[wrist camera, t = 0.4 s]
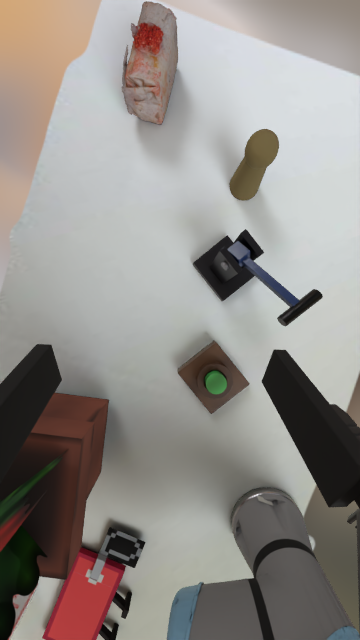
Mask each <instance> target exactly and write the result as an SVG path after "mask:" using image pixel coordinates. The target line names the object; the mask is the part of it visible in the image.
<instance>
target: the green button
mask: <svg viewBox="0 0 360 640" xmlns="http://www.w3.org/2000/svg"><path fill="white" fill-rule="evenodd" d="M205 385H206V388H207V390H208V391H209V392H210V393H212V394H220V393H222V392H223V391H224V390H225V389H226V387H227V381H226V378H225V377H224V375H223V374H222V373H221V372H219V371H211V372H209V373H208V374H207V375H206V377H205Z"/></svg>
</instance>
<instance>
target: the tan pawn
mask: <svg viewBox="0 0 360 640" xmlns="http://www.w3.org/2000/svg"><path fill="white" fill-rule="evenodd" d="M278 149H279V141H278V138H277V136H276V134H275V133H274V132H273V131H271V130H268V129H262V130H259V131H257V132H255V133H254V134H253V135H252V136H251V137H250V139H249V140H248V142H247V144H246V148H245V157H244V158H243V160H242V162H241V163H240V165H239V167H238V168H237V170H236V172H235V173H234V175H233V177H232V179H231V181H230V191H231V193H232V195H233V196H234V197H235V198H237V199H239V200H249V199H251V198H252V197H254V196H255V194H256V193H257V191H258V188H259V186H260V183H261V181H262V178H263V175H264V173H265V170H266V168H267V166H269V165H270V164H271V163H272V162H273V160H274V159H275V157H276V156H277V153H278Z"/></svg>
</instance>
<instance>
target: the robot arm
mask: <svg viewBox="0 0 360 640" xmlns="http://www.w3.org/2000/svg"><path fill="white" fill-rule="evenodd" d="M61 380H62V379H61V376H60V372H59V369H58V366H57V362H56V359H55V356H54V352H53V349H52V346H51V345H44V344H37V345H36V346H35V347H34V348H33V349H32V350H31V351H30V352H29V353H28V354H27V355H26V357H25V358H24V359H23V360H22V361H21V362H20V363H19V364H18V365H17V366H16V367H15V369H14V370H13V371H12V372H11V373H10V374H9V375H8V376H7V377H6V378H5V379H4V380H3V382H2V383H1V384H0V483H1V481H2V480H3V478H4V476H5V475H6V473H7V471H8V470H9V468H10V466H11V465H12V463H13V461H14V460H15V458H16V456H17V455H18V453H19V451H20V449H21V448H22V446H23V444H24V443H25V441H26V439H27V438H28V436H29V434H30V433H31V431H32V429H33V428H34V426H35V424H36V422H37V421H38V419H39V417H40V416H41V414H42V412H43V411H44V409H45V407H46V406H47V404H48V402H49V401H50V399H51V397H52V396H53V394H54V392H55V390H56V389H57V387H58V385H59V384H60V382H61ZM262 383H263V385H264V387H265V389H266V391H267V392H268V394H269V396H270V398H271V400H272V402H273V404H274V406H275V407H276V409H277V411H278V413H279V415H280V417H281V419H282V420H283V422H284V424H285V426H286V428H287V430H288V432H289V434H290V435H291V437H292V439H293V441H294V443H295V445H296V447H297V449H298V450H299V452H300V454H301V456H302V458H303V460H304V462H305V464H306V465H307V467H308V469H309V471H310V473H311V475H312V477H313V479H314V480H315V482H316V484H317V486H318V488H319V490H320V492H321V493H322V495H323V497H324V499H325V501H326V503H327V505H328V507H347V506H348V505H349V504H350V503H351V502H352V501H354V500H355V502H356V504H357V505H358V507H359V509H358V510H357V511H355V512H354V513H353V514H351V515H350V516H349V517H348V520H347V522H348V523H350V524H351V523H352V522H354V521H355V520H357V526H356V528H357V549H358V589H359V629H360V428H359V427H357V424H356V423H355V422H354V421H353V420H352V419H351V417H350V416H349V415H348V414H347V413H346V412H345V411H343V410H342V409H341V408H339V407H338V406H337V405H336V404H329V403H328V402H327V400H326V399H325V398H324V397H323V395H322V394H321V393H320V392H319V390H318V389H317V388H316V387H315V386H314V384H313V383H312V382H311V381H310V379H309V378H308V377H307V376H306V374H305V373H304V372H303V371H302V370H301V368H300V367H299V366H298V365H297V363H296V362H295V361H294V360H293V358H292V357H291V356H290V355H289V354H288V352H287V351H286V350H274V351H273V353H272V356H271V359H270V361H269V364H268V366H267V369H266V372H265V374H264V377H263V379H262ZM231 524H232V530H233V534H234V538H235V541H236V543H237V545H238V547H239V549H240V551H241V553H242V555H243V556H244V558H245V560H246V562H247V564H248V565H249V567H250V569H251V571H252V573H253V575H254V578H252V579H242V580H235V581H227V582H219V583H210V584H204V583H203V582H200V583H199V585H194V586H189V587H185V588H182V589H180V590H179V591H178V592H177V594H176V595H175V598H174V600H173V603H172V607H171V612H170V618H169V625H168V633H167V640H360V635H359V633H358V632H357V630H356V629H355V628H354V626H353V624H352V622H351V621H350V619H349V617H348V615H347V613H346V611H345V610H344V608H343V606H342V604H341V602H340V601H339V599H338V597H337V595H336V594H335V591H334V590H333V588H332V586H331V584H330V582H329V581H328V579H327V577H326V575H325V573H324V572H323V570H322V568H321V566H320V564H319V563H318V561H317V559H316V557H315V555H314V553H313V551H312V548H311V544H310V540H309V536H308V533H307V529H306V525H305V522H304V519H303V516H302V514H301V512H300V510H299V508H298V507H297V505H296V503H295V502H294V500H293V499H292V498H291V497H290V496H289V495H287V494H286V493H284V492H282V491H280V490H278V489H274V488H258V489H254V490H252V491H250V492H248V493H246V494H245V495H244V496H242V497H241V498H240V499H239V501H238V502H237V503H236V505H235V507H234V509H233V512H232V517H231Z"/></svg>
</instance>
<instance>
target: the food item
mask: <svg viewBox="0 0 360 640" xmlns="http://www.w3.org/2000/svg"><path fill="white" fill-rule="evenodd" d="M176 19H177V18H176V17H175V16H174V14H173V12H172V11H171V10H170V9H167V8H165V7H164V6H162V5H161V4H159V3H153V2H144V3H143V5H142V11H141V15H140V18H139V22H138V26H135V25H134V24H131V31H132V36H133V38H134V41H133V46H132V50H131V55H130V58H129V61H128V64H127V55H128V45H127V48H126V53H125V57H124V61H123V78H122V84H123V87H122V92H123V94H124V97H125V102H126V105H127V109H128V112H129V113H130V114H131V115H132V114H134V115H135V116H137V117H140V118H141V119H142V120H144V121H150V122H152V123H156V124H160V125H161V124H162V122H163V119H164V116H165V113H166V110H167V106H168V101H169V97H170V93H171V89H172V85H173V81H174V76H175V72H176V68H177V63H178V47H177V25H176ZM132 25H133V26H132Z"/></svg>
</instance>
